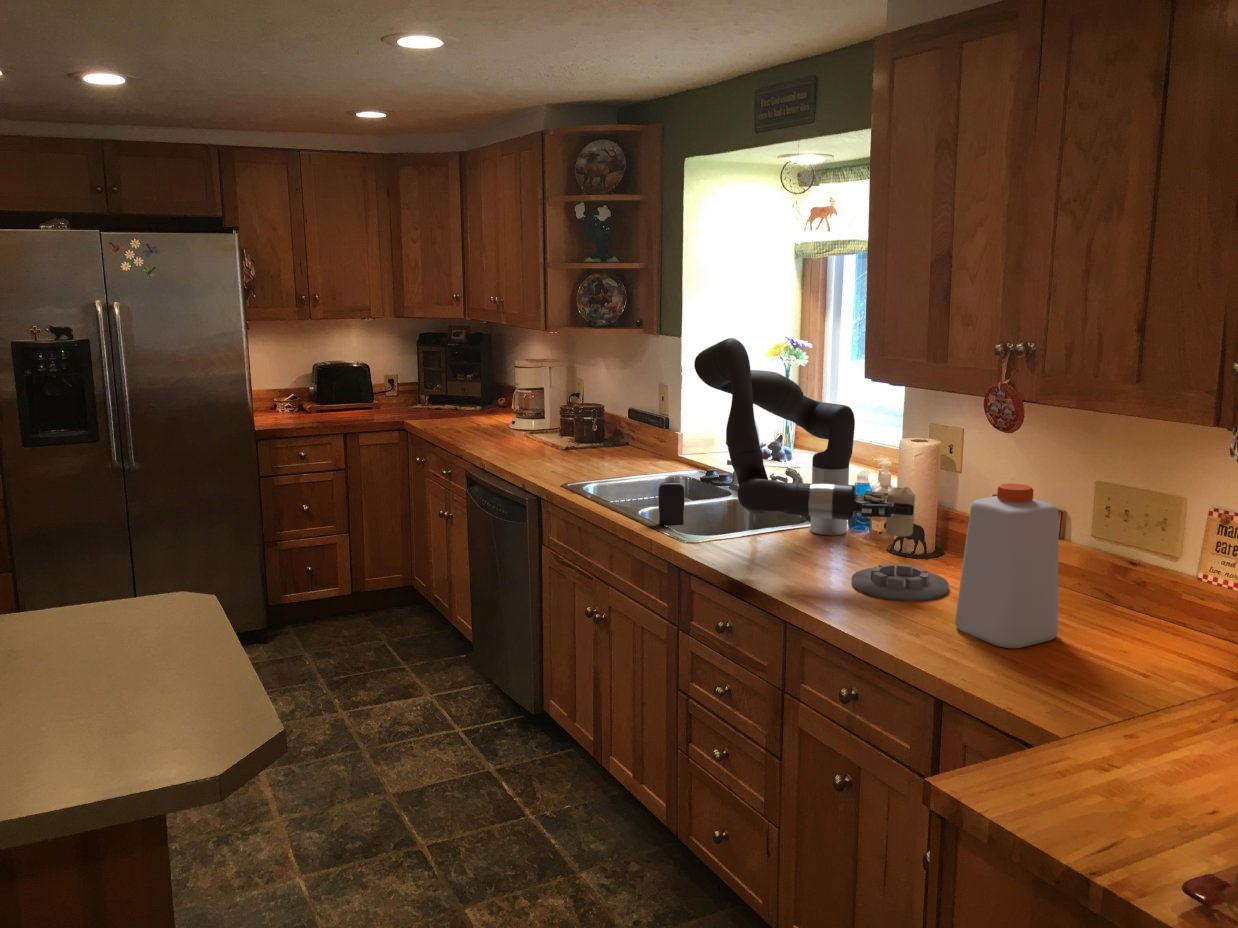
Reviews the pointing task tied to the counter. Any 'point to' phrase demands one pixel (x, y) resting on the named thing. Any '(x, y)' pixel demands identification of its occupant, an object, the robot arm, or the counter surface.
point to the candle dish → (898, 594)
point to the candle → (900, 523)
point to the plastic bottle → (1010, 570)
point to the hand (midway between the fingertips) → (913, 506)
